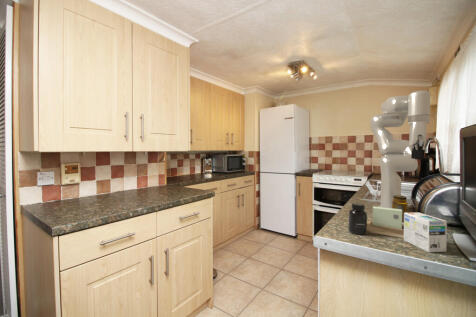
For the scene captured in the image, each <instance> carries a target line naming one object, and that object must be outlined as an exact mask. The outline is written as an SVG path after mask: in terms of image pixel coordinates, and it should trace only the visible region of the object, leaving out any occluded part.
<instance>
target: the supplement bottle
mask: <svg viewBox="0 0 476 317" xmlns="http://www.w3.org/2000/svg"><path fill="white" fill-rule="evenodd" d="M365 209H366V206H365V204H364V203H359V202H352V203H351V208H350V209H349V211H348V226H347V227H348V228H347V229H348V232H349V233H351V234H353V235H356V236H357V235H358V236H365V235H367V233H368V232H367V220H368V212H367V211H366V210H365Z"/></svg>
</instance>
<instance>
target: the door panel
mask: <svg viewBox="0 0 476 317" xmlns="http://www.w3.org/2000/svg"><path fill="white" fill-rule="evenodd" d="M372 221H373V225H377V226H384V227H391V228H397V229H402V225H403V224H402V210H401V209H392V208H383V207H378V206H372Z"/></svg>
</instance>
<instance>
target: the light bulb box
mask: <svg viewBox="0 0 476 317" xmlns="http://www.w3.org/2000/svg"><path fill="white" fill-rule="evenodd" d="M403 225H404V238H403V241H405V242H407V243H409V244H410V245H413V246H415V247H417V248H419V249H421V250H423V251H425V252H427V253H443V252H444V253H445V252H447V240H448V239H447V235H448V233H447V231H448V230H447V229H448V228H447V227H448V221H447V219H442V218H438V217H435V216H432V215H428V214H426V213H422V212H407V213H404V224H403Z"/></svg>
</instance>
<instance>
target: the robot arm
mask: <svg viewBox="0 0 476 317" xmlns="http://www.w3.org/2000/svg"><path fill="white" fill-rule="evenodd" d="M380 111H381V112H382V113H378V114H375V115H373V116H371V118H370V120H369V121H370V123H369V124H370V130H371V132H372V134H373V136H374V137H375V138H376V143H377V147H378V151H379V153H380V155H382V156H381V157H380V158H379V168H380V178H381V180H380V204H379V205H377V207H383V208H392V201H393V196H395V195H399V196H402V178H401V177H400V175H399V174H398V173H397V172H411V173H412V172H414V171H416V170H417V169H418V167H419V162H418V160H425V152H426V150H425V146H426V144H427V143H426V142H427V124H430V122H431V121H430V119H431V117H430V115H431V92H430V91H429V90H417V91H413V92H410V93H409V94H408V95H397V96H391V97H388V98H387V99H386V100H385V101H384V102H382V103H381V105H380ZM406 121H407V125H409V133H408V134H409V137H408V140H407V139H394V136H393V134H392V133H391V131H389V130H388V129H386V128H399V127H403V125H404V124H405V122H406Z"/></svg>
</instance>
